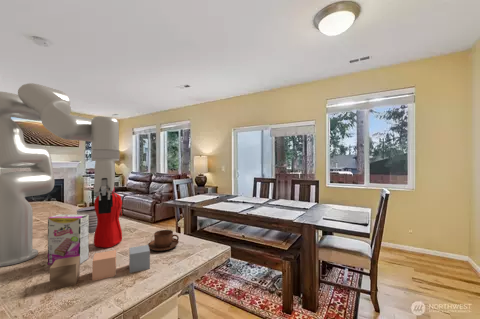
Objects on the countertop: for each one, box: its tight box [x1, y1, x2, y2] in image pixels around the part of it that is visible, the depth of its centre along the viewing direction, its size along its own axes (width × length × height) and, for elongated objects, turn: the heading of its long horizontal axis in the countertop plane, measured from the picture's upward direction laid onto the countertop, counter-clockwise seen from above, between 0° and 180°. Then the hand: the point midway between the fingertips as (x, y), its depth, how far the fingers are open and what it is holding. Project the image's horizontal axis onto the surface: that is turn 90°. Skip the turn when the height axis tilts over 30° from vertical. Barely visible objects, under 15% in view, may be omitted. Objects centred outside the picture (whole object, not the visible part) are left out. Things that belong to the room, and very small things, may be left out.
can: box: [76, 205, 97, 234], centre depth 112 cm, size 11×11×12 cm
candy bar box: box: [47, 213, 90, 266], centre depth 78 cm, size 11×5×16 cm, turn 92°
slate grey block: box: [128, 244, 151, 274], centre depth 75 cm, size 6×6×6 cm
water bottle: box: [93, 188, 123, 249], centre depth 94 cm, size 9×11×25 cm
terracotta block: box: [91, 249, 117, 282], centre depth 70 cm, size 6×6×6 cm
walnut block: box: [49, 256, 81, 291], centre depth 65 cm, size 6×6×6 cm
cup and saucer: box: [147, 229, 180, 252], centre depth 92 cm, size 12×12×6 cm
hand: (106, 210), depth 70 cm, fingers open, 9 cm apart
